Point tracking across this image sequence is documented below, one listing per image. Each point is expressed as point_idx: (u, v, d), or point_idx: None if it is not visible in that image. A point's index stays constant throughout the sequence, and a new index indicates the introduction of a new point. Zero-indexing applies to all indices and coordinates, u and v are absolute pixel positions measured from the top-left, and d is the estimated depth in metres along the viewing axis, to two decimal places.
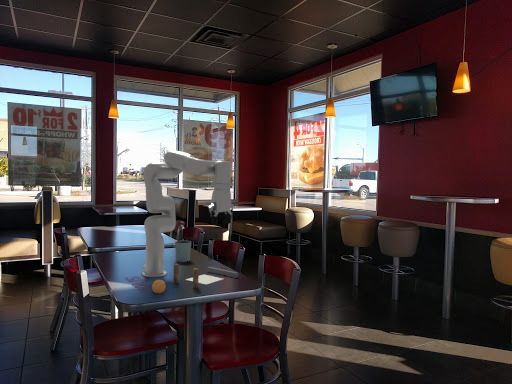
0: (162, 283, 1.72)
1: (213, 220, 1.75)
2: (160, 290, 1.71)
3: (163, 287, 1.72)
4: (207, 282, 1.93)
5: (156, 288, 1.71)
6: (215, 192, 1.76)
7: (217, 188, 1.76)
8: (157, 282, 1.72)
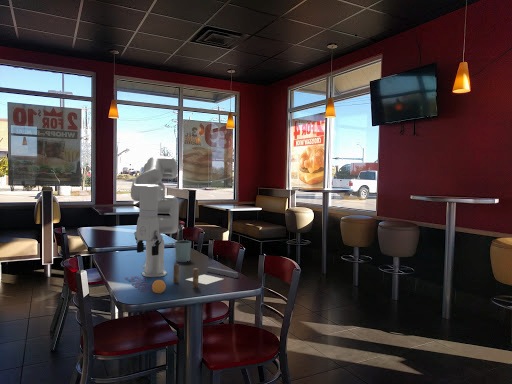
0: (162, 283, 1.72)
1: (157, 250, 1.63)
2: (160, 290, 1.71)
3: (163, 287, 1.72)
4: (207, 282, 1.93)
5: (156, 288, 1.71)
6: (155, 220, 1.63)
7: (154, 215, 1.64)
8: (157, 282, 1.72)
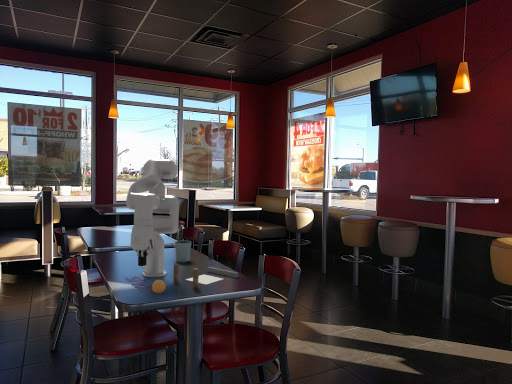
0: (162, 283, 1.72)
1: (144, 260, 1.64)
2: (160, 290, 1.71)
3: (163, 287, 1.72)
4: (207, 282, 1.93)
5: (156, 288, 1.71)
6: (150, 229, 1.62)
7: (149, 224, 1.63)
8: (157, 282, 1.72)
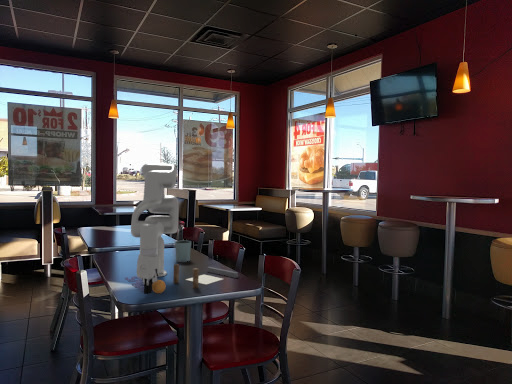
0: (162, 283, 1.72)
1: (150, 289, 1.68)
2: (160, 290, 1.71)
3: (163, 287, 1.72)
4: (207, 282, 1.93)
5: (156, 288, 1.71)
6: (155, 258, 1.66)
7: (154, 253, 1.66)
8: (157, 282, 1.72)
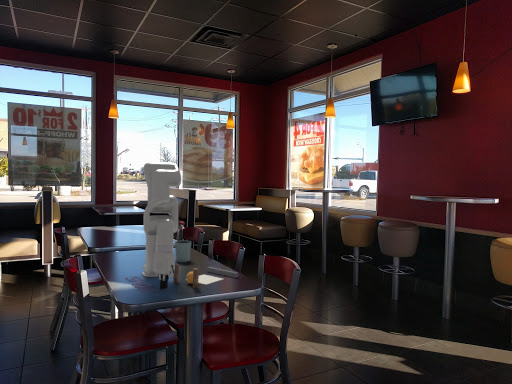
0: None
1: (166, 284, 1.76)
2: None
3: None
4: (207, 282, 1.93)
5: (191, 277, 1.88)
6: (171, 254, 1.73)
7: (170, 250, 1.74)
8: None
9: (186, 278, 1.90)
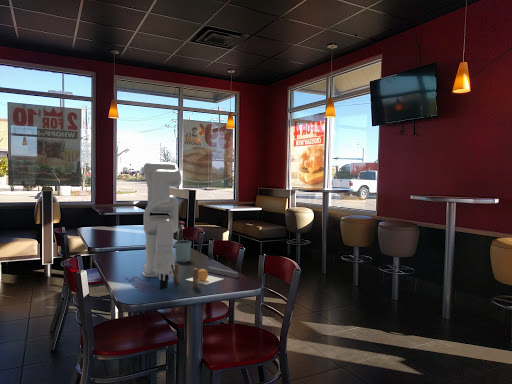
0: (206, 278, 1.96)
1: (166, 284, 1.76)
2: (206, 272, 1.96)
3: (205, 276, 1.95)
4: (207, 282, 1.93)
5: (207, 272, 1.98)
6: (171, 254, 1.73)
7: (170, 250, 1.74)
8: None
9: None
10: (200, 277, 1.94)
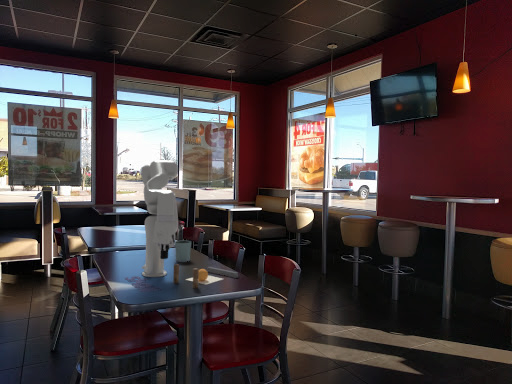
0: (206, 278, 1.96)
1: (166, 254, 1.76)
2: (206, 272, 1.96)
3: (205, 276, 1.95)
4: (207, 282, 1.93)
5: (207, 272, 1.98)
6: (172, 224, 1.73)
7: (171, 220, 1.74)
8: None
9: None
10: (200, 277, 1.94)
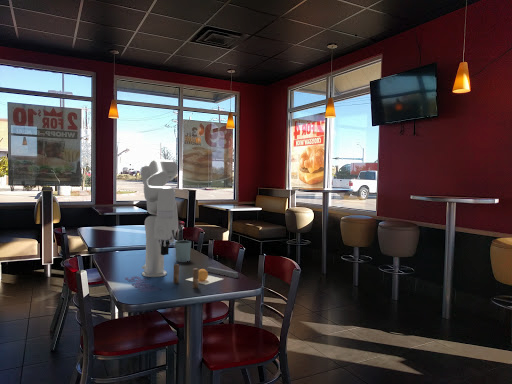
0: (206, 278, 1.96)
1: (167, 250, 1.75)
2: (206, 272, 1.96)
3: (205, 276, 1.95)
4: (207, 282, 1.93)
5: (207, 272, 1.98)
6: (172, 220, 1.73)
7: (171, 216, 1.73)
8: None
9: None
10: (200, 277, 1.94)
